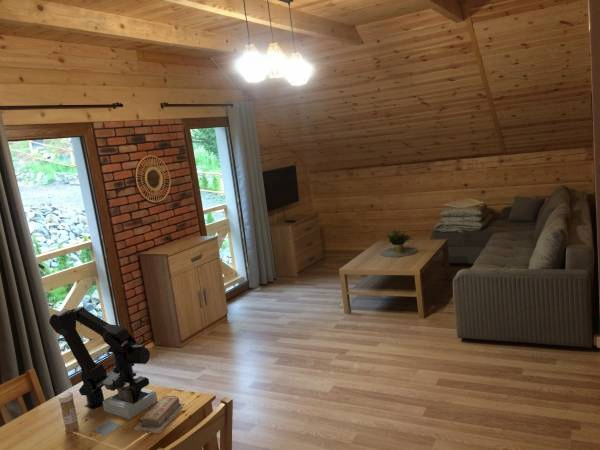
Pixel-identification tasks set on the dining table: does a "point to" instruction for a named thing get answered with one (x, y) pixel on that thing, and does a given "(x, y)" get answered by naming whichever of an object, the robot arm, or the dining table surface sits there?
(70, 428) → the sprinkles bottle
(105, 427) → the coaster
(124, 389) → the block
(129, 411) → the grey open tray
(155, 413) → the packaged product
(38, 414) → the dining table surface
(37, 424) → the dining table surface
